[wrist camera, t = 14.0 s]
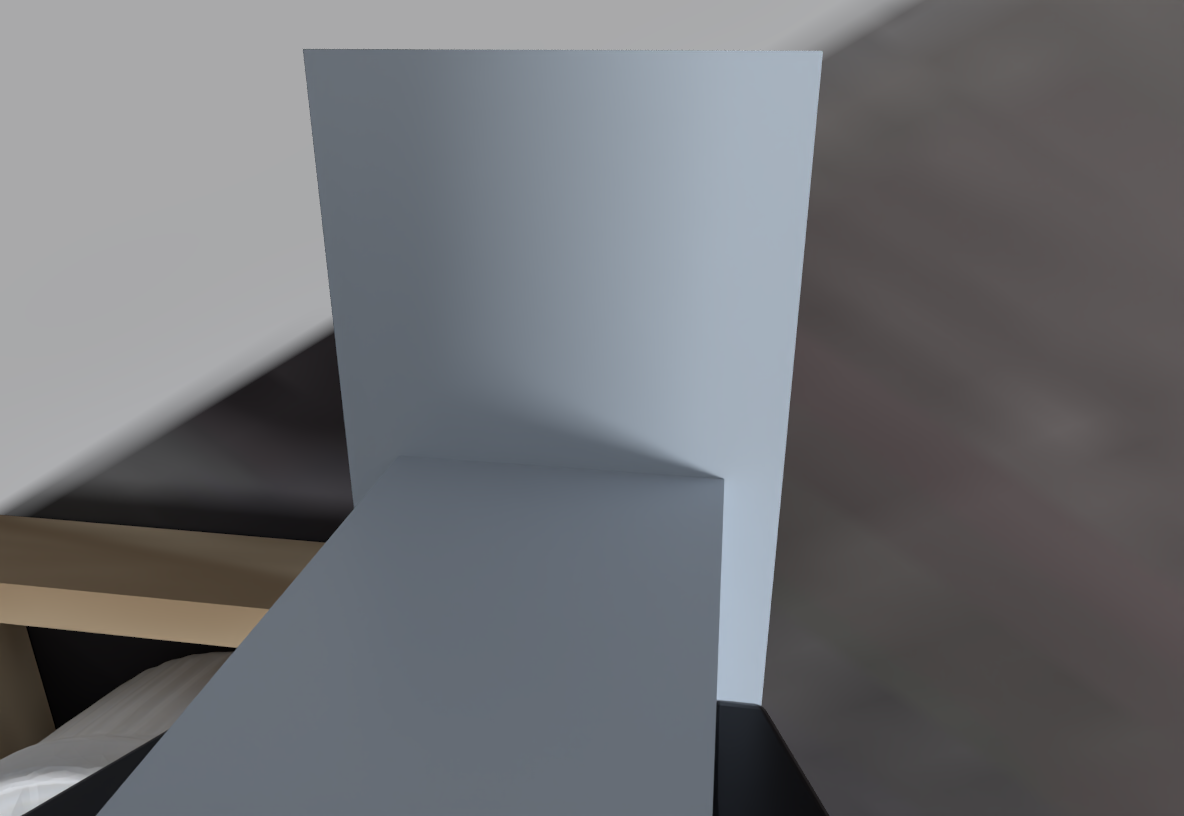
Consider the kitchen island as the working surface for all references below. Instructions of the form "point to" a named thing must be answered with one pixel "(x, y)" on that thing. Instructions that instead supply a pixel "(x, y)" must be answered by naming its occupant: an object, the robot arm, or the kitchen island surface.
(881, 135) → the kitchen island surface
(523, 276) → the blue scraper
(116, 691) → the ramekin
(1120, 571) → the kitchen island surface
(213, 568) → the oak corral
